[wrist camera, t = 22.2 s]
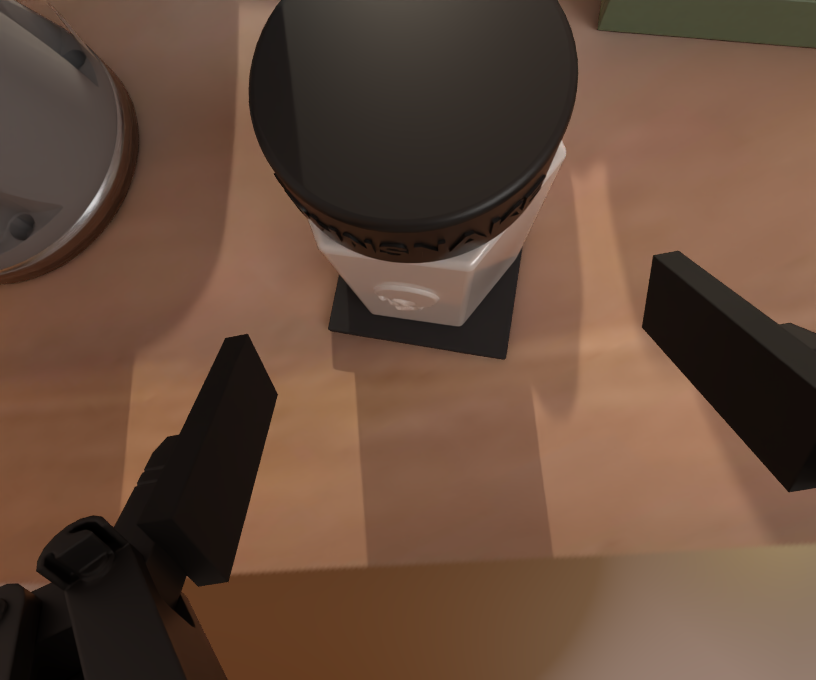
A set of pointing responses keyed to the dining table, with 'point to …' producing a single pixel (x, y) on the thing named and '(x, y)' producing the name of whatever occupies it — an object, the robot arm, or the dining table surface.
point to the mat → (475, 336)
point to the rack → (715, 19)
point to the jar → (416, 138)
